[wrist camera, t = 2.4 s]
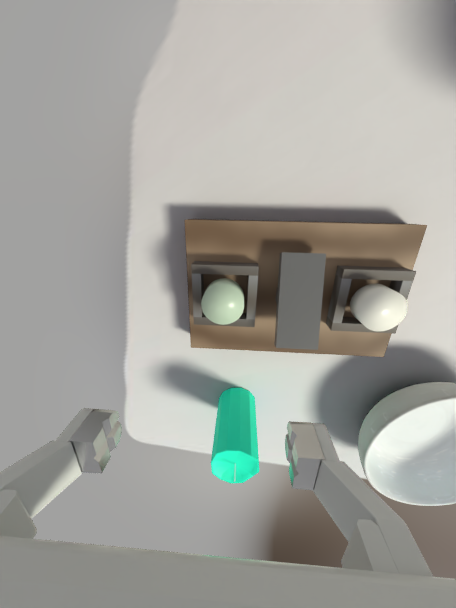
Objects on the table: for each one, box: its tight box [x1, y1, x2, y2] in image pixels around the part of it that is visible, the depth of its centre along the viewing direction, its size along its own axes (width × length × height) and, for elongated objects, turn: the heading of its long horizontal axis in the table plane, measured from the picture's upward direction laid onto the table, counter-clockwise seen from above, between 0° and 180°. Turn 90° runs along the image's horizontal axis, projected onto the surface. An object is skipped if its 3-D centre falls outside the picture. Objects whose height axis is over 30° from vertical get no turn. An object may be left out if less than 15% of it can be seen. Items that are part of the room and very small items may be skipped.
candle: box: [211, 388, 259, 483], centre depth 32 cm, size 6×6×12 cm
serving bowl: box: [358, 382, 456, 506], centre depth 33 cm, size 21×21×7 cm
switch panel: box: [185, 219, 427, 357], centre depth 27 cm, size 16×25×5 cm, turn 89°
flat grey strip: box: [274, 252, 326, 350], centre depth 24 cm, size 10×4×1 cm, turn 179°
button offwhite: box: [350, 283, 408, 331], centre depth 24 cm, size 4×4×2 cm
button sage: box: [201, 278, 244, 325], centre depth 24 cm, size 4×4×2 cm
